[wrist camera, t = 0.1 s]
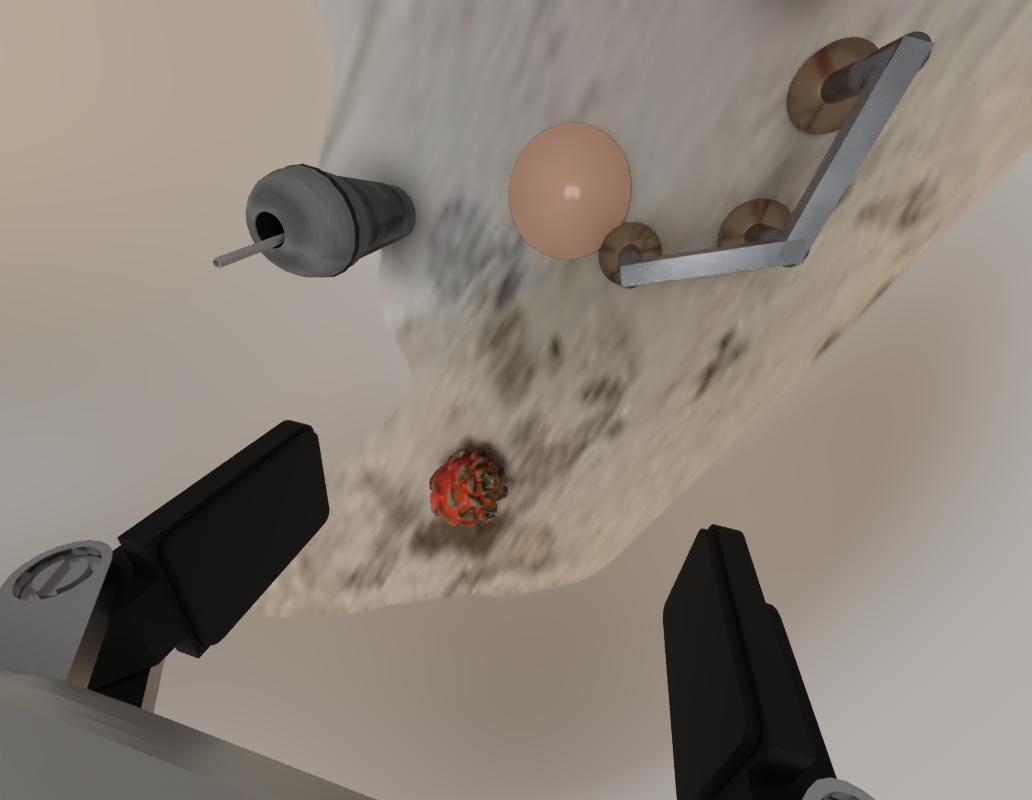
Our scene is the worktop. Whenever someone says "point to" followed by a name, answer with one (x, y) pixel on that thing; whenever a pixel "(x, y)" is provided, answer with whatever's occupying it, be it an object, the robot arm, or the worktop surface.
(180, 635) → the robot arm
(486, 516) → the dragon fruit
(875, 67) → the grey cabinet handle
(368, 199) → the beverage cup
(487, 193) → the worktop surface
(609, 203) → the terracotta coaster
